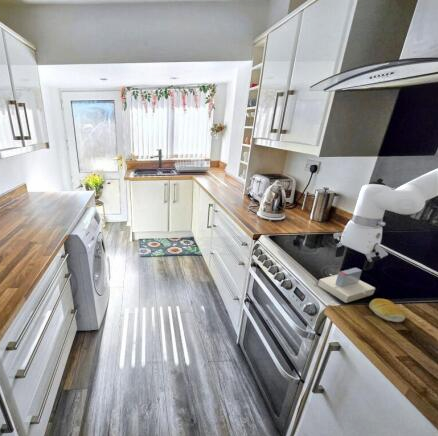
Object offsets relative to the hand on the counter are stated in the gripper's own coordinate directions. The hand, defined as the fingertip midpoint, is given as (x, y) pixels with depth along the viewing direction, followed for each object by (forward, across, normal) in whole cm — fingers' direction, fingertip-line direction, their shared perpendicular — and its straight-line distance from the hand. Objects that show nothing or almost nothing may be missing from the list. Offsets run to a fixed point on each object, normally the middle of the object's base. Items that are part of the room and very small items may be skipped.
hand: (351, 262), depth 89 cm
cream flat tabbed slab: (+12, 0, 0) cm, 12 cm away
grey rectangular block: (+9, 0, 0) cm, 9 cm away
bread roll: (+12, -14, 0) cm, 18 cm away
